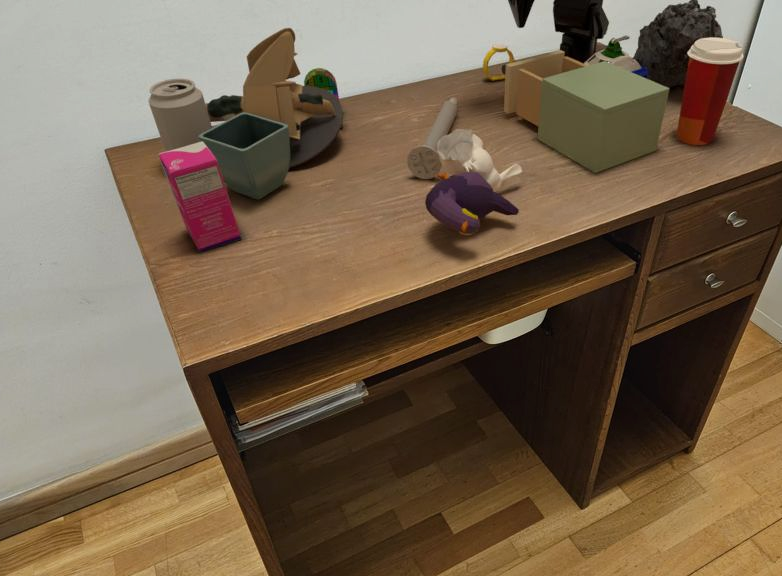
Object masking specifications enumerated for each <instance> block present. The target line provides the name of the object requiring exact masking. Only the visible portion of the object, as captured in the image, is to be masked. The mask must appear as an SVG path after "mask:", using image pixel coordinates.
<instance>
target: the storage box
mask: <svg viewBox="0 0 782 576" xmlns="http://www.w3.org/2000/svg"><path fill="white" fill-rule="evenodd" d="M669 93H670V87H668V88H667V87H665V86H663V85H660V84H658V83H656V82H653V81H651V80H649V79H646V78H644V77H641V76H639V75H637V74H634V73H632V72H630V71H627V70H625V69H622V68H620V67H618V66H615V65H613V64H611V63H608V62H606V61H603V62H600V63H596V64H593V65H589V66H586V67H582V68H579V69H575V70H572V71H568V72H565V73H561V74H558V75H554V76H550V77H547V78H543V79H542V89H541V102H540V115H539V127H538V128H537V129H538V130H537V140H538V141H540V142H541V143H543V144H545V145H546V146H548V147H550V148H552V149H553V150H555V151H557V152H558V153H560V154H562V155H564V156H565V157H567V158H569V159H570V160H572V161H574V162H575V163H577V164H579V165H581V166H582V167H584V168H585V169H587V170H589V171H591V172H593V173H594V174H597V173H599V172H602V171H605V170H607V169H610V168H613V167H616V166H618V165H621V164H625V163H626V162H629V161H632V160H635V159H637V158H640V157H642V156H645V155H648V154H650V153H653V152H656V151H657V150H658V145H659V140H660V136H661V130H662V126H663V122H664V117H665V112H666V108H667V102H668V98H669Z"/></svg>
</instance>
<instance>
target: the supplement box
mask: <svg viewBox="0 0 782 576" xmlns="http://www.w3.org/2000/svg"><path fill="white" fill-rule="evenodd" d="M157 155H158V158H159V161H160V163H161V167H162V169H163V172H164V174H165V177H166V180H167V182H168V185H169V187H170V190H171V193H172V196H173V198H174V201H175V203H176V206H177V209H178V211H179V213H180V217H181V219H182V221H183V224H184V227H185V229H186V232H187V234H188V235H189V236H190V238H191V240H192V241H193V243H194V245H195V246H196V248H197V251H198V252H199V253H202V252H206V251H208V250H212V249H215V248H218V247H221V246H223V245H227V244H230V243H233V242H237V241H240V240H242V235H241V231H240V229H239V226H238V223H237V219H236V216H235V212H234V210H233V207H232V204H231V200H230V197H229V194H228V191H227V188H226V183H224V181H223V178H222V174H221V171H220V168H219V165H218V162H217V159H216V158H215V156H214V155H213V154H212V152H211V151H210V150H209V148H208V147H207V146H206V145H205V143H204V142H203V141H201V142H198V143H195V144H191V145H188V146H185V147H181V148H178V149H174V150H170V151H163V152H159V153H158V154H157Z"/></svg>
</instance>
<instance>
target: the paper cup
mask: <svg viewBox="0 0 782 576" xmlns="http://www.w3.org/2000/svg"><path fill="white" fill-rule="evenodd" d="M687 54H688V56H689V57H690V58H689V64H688V70H687V75H686V81H685V85H684V87H683V88H684V89H683V93H682V99H681V105H680V111H679V117H678V123H677V129H676V130H677V131H676V138H677V139H678V140H679V141H680V142H682V143H684V144H688V145H691V146H692V145H693V146H704V145H708V144H710V143H712V142H713V140H714V137H715V135H716V133H717V130H718V127H719V124H720V120H721V118H722V115H723V113H724V109H725V107H726V104H727V101H728V98H729V96H730V92H731V90H732V86H733V83H734V81H735V80H734V79H735V77H736V74H737V71H738V68H739V65H740V62H741V61H743V59H744V53H743V47H742V45H741V44H740V43H739V42H738V41H735V40H733V39H729V38H724V37H723V38H702V39H699V40H697V41H695V43H694V45H692V46H691V49H690V50H689V51H688V52H687Z"/></svg>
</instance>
